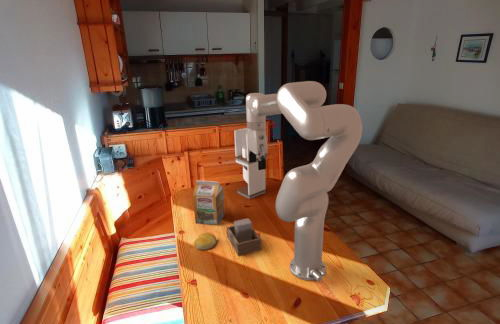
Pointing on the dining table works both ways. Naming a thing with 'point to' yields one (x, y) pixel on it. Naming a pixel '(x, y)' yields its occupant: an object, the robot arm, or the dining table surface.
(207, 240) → the bread roll
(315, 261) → the robot arm
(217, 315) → the dining table surface
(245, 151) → the light grey boxy piece
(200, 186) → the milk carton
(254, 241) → the open box
